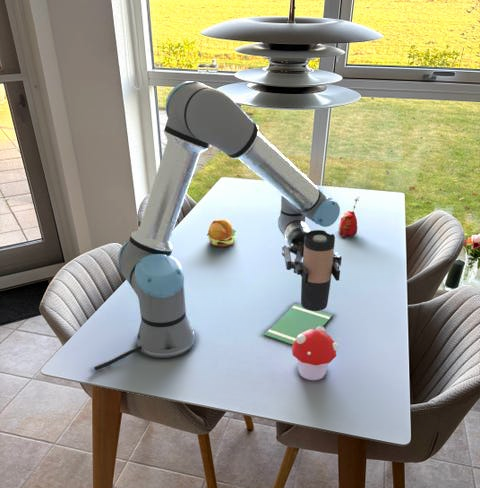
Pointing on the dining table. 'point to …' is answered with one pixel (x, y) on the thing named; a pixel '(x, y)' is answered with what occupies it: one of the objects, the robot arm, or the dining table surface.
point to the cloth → (297, 323)
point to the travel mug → (317, 269)
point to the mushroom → (314, 353)
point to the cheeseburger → (221, 233)
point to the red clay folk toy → (348, 224)
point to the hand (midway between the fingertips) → (322, 277)
